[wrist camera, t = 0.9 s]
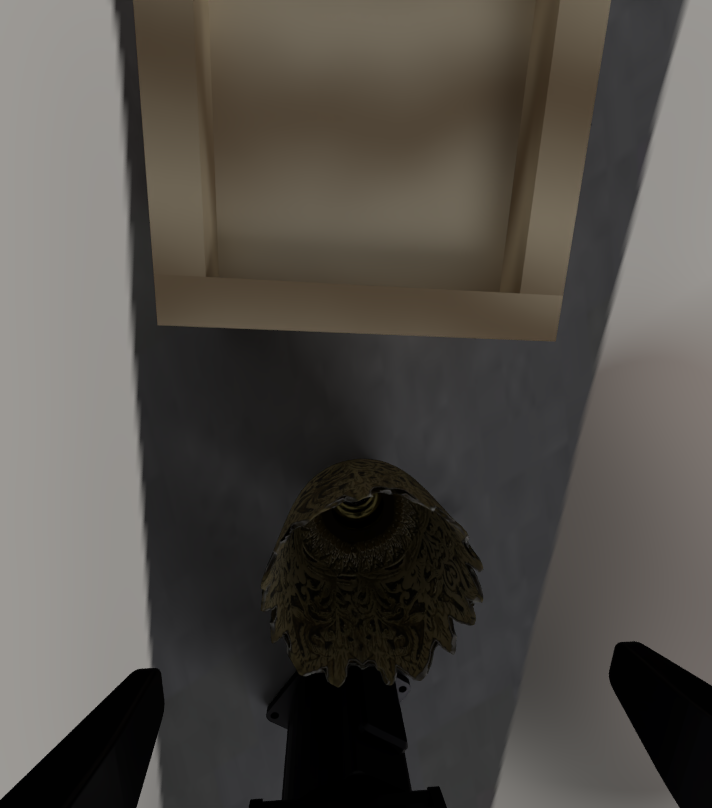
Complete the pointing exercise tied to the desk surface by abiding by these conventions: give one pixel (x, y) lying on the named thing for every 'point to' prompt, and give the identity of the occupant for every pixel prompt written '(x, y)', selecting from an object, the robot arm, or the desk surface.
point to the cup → (369, 575)
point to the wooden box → (366, 161)
